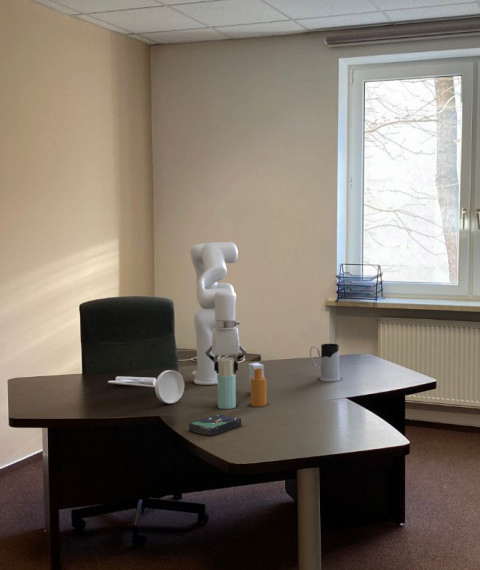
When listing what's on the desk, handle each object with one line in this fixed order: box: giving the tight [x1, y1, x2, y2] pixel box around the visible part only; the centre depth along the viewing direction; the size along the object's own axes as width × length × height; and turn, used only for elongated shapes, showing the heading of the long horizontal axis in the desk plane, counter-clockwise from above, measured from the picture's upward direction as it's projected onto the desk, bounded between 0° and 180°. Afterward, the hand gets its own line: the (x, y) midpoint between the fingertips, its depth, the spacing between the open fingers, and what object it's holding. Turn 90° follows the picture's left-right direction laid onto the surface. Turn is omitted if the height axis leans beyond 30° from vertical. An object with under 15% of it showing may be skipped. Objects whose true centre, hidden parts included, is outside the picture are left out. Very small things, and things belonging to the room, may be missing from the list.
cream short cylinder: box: [218, 357, 235, 377], centre depth 273 cm, size 6×6×6 cm
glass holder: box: [309, 343, 341, 382], centre depth 321 cm, size 9×14×15 cm, turn 58°
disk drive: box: [188, 413, 242, 436], centre depth 245 cm, size 10×3×15 cm
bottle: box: [216, 373, 237, 410], centre depth 274 cm, size 7×7×16 cm
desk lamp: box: [107, 369, 185, 404], centre depth 298 cm, size 12×22×45 cm
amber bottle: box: [249, 368, 267, 408], centre depth 276 cm, size 6×6×14 cm
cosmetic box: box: [248, 362, 265, 394], centre depth 293 cm, size 6×4×12 cm
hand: (226, 372), depth 273 cm, fingers closed on cream short cylinder, 5 cm apart
